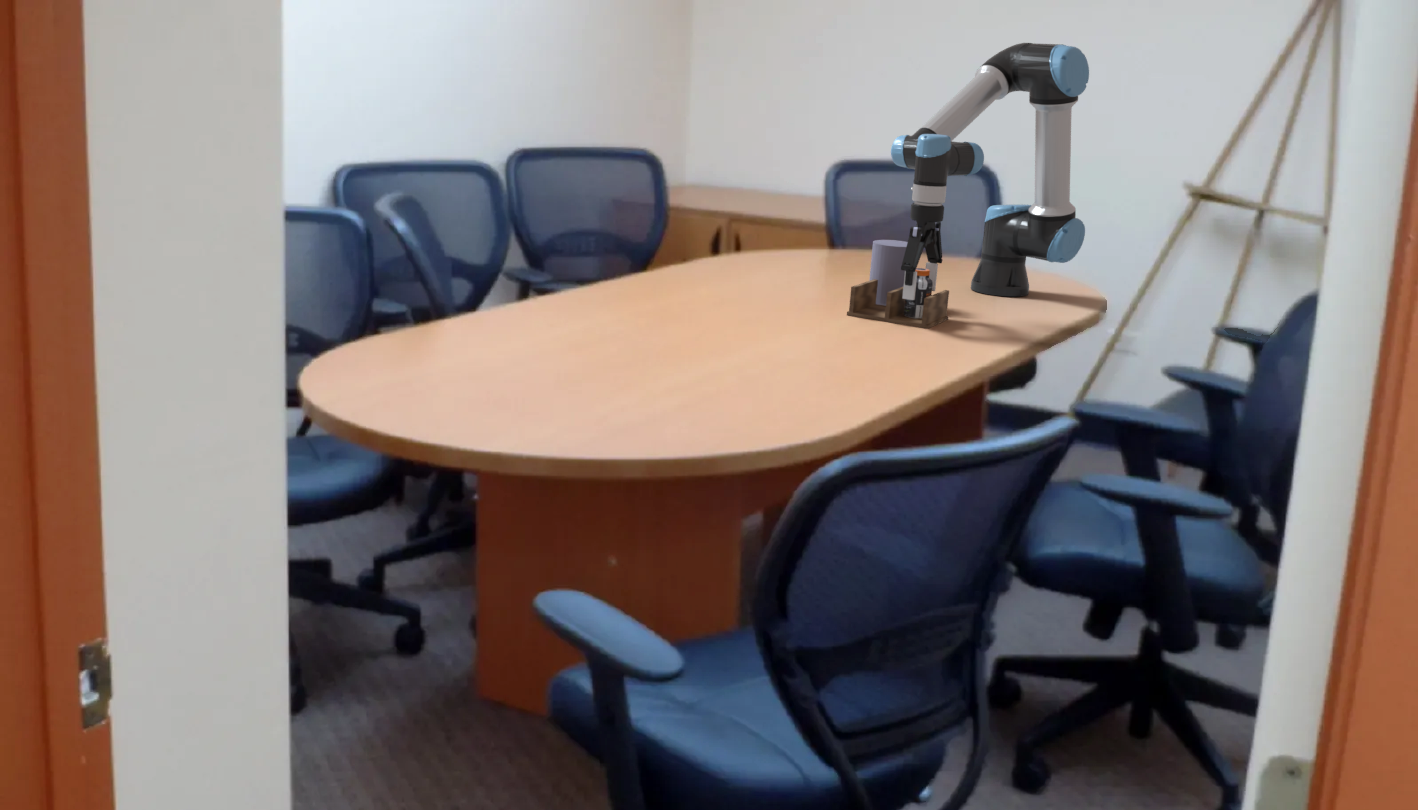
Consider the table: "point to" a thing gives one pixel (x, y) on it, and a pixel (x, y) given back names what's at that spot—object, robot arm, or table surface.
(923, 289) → the pill bottle
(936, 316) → the rack
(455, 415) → the table surface
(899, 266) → the container
